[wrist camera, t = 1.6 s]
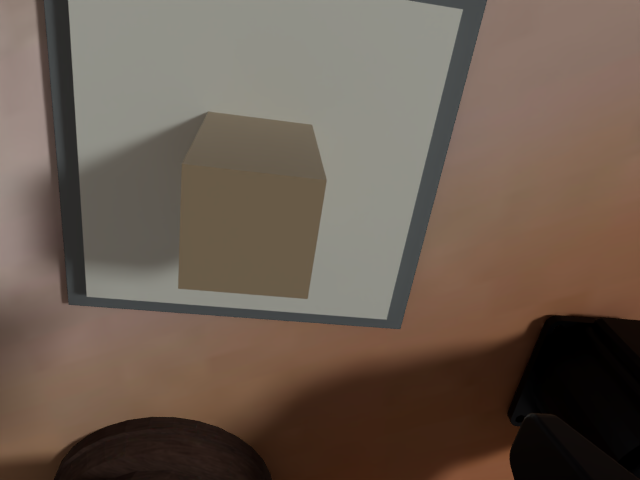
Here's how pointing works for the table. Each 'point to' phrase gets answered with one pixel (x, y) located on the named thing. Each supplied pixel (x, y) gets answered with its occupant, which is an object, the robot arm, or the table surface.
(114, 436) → the black ball on stand
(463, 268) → the table surface
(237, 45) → the lid
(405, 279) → the mat
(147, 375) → the table surface
